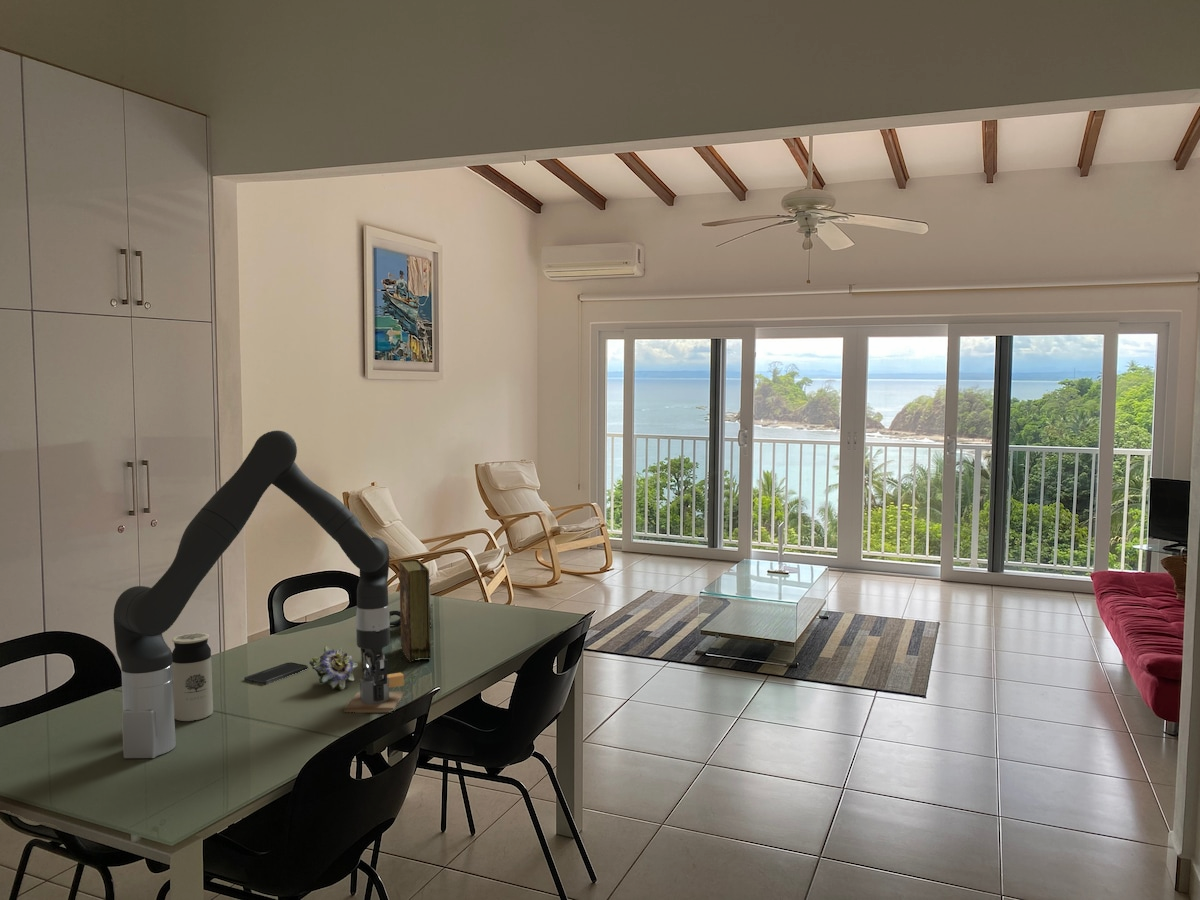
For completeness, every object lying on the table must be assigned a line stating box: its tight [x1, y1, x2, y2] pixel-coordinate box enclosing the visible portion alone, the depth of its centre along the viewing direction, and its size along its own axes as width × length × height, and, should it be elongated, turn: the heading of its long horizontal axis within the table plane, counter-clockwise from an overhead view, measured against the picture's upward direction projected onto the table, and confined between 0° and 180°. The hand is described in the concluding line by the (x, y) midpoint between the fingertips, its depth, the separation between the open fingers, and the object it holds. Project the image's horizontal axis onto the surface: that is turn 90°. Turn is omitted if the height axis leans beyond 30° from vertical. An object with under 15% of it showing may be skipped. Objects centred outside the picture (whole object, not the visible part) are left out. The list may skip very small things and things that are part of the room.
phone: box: [243, 662, 309, 686], centre depth 228 cm, size 8×1×15 cm
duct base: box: [344, 681, 405, 714], centre depth 206 cm, size 11×11×6 cm
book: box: [398, 559, 432, 662], centre depth 244 cm, size 16×6×25 cm, turn 22°
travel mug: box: [171, 632, 214, 722], centre depth 199 cm, size 8×8×18 cm
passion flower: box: [309, 646, 359, 691], centre depth 219 cm, size 11×11×12 cm
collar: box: [359, 672, 405, 704], centre depth 207 cm, size 10×6×5 cm, turn 120°
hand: (374, 696), depth 206 cm, fingers closed on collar, 6 cm apart
